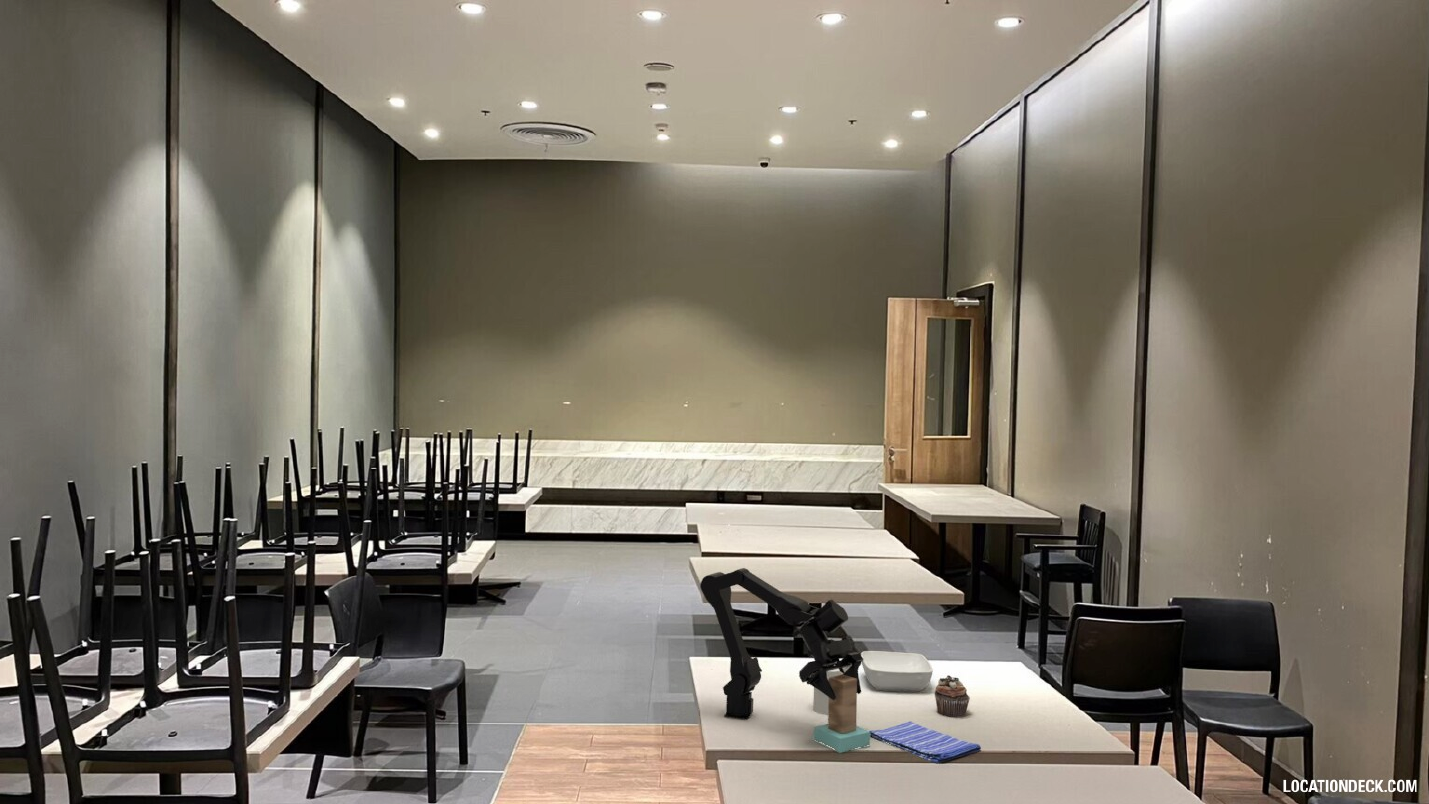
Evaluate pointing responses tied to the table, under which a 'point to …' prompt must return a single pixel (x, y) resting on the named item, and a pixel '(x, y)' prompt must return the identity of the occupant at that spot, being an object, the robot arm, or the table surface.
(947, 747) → the dish towel
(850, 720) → the walnut pillar
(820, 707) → the cup
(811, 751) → the table surface
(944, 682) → the cupcake
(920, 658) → the square bowl
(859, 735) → the teal plinth
